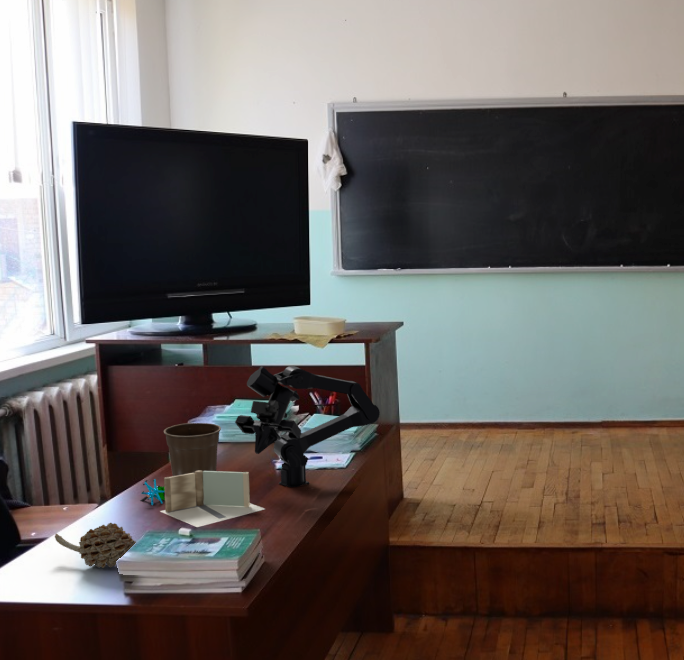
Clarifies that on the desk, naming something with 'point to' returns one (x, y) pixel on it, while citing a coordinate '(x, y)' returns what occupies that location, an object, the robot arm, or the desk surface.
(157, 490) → the stick construction toy
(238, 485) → the sage fence panel
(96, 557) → the pine cone
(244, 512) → the card
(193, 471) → the plant pot
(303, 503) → the desk surface
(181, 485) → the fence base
